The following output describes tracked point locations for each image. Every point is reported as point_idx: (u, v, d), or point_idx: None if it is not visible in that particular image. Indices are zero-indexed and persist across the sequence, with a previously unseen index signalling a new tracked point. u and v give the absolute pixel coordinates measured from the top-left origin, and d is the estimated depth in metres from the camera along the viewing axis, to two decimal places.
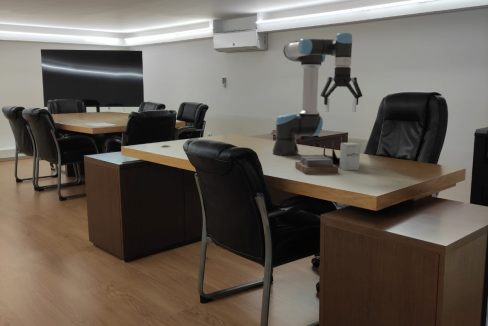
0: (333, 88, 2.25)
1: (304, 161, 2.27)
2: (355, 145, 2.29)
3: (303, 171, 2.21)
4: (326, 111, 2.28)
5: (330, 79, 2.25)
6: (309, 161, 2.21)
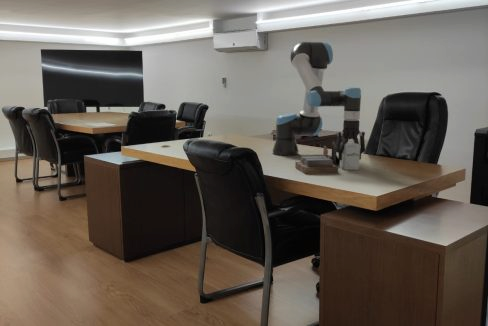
0: (345, 142, 2.30)
1: (304, 161, 2.27)
2: (355, 145, 2.29)
3: (303, 171, 2.21)
4: None
5: (339, 134, 2.29)
6: (309, 161, 2.21)
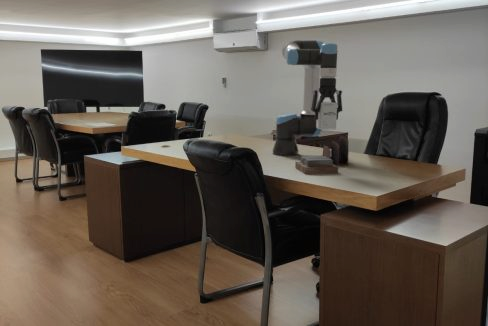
0: (321, 101, 2.22)
1: (304, 161, 2.27)
2: (332, 103, 2.21)
3: (303, 171, 2.21)
4: (317, 126, 2.25)
5: (316, 92, 2.21)
6: (309, 161, 2.21)
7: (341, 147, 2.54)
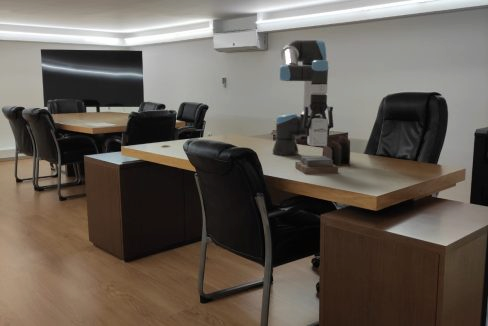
0: (312, 118, 2.22)
1: (304, 161, 2.27)
2: (322, 120, 2.21)
3: (303, 171, 2.21)
4: (308, 142, 2.25)
5: (306, 109, 2.21)
6: (309, 161, 2.21)
7: (341, 147, 2.54)
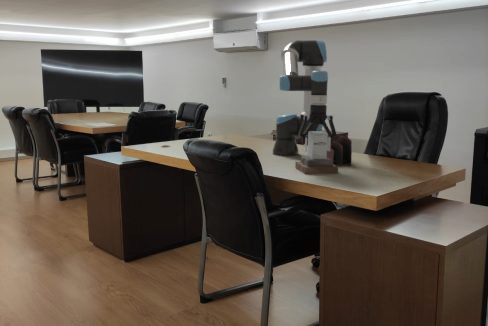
0: (310, 127, 2.23)
1: (304, 161, 2.27)
2: (322, 133, 2.22)
3: (303, 171, 2.21)
4: (304, 150, 2.26)
5: (306, 118, 2.22)
6: (309, 161, 2.21)
7: None
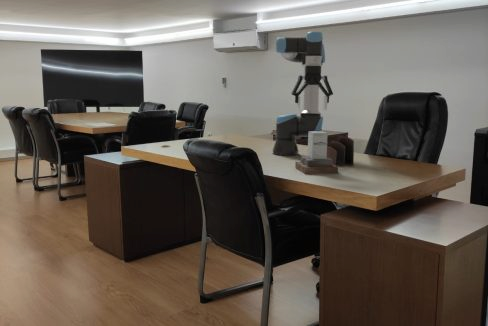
0: (304, 86, 2.27)
1: (304, 161, 2.27)
2: (322, 133, 2.22)
3: (303, 171, 2.21)
4: (297, 109, 2.30)
5: (301, 78, 2.25)
6: (309, 161, 2.21)
7: None
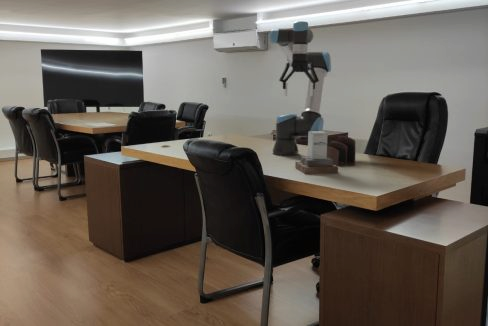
0: (291, 73, 2.40)
1: (304, 161, 2.27)
2: (322, 133, 2.22)
3: (303, 171, 2.21)
4: (284, 95, 2.43)
5: (288, 65, 2.39)
6: (309, 161, 2.21)
7: None
